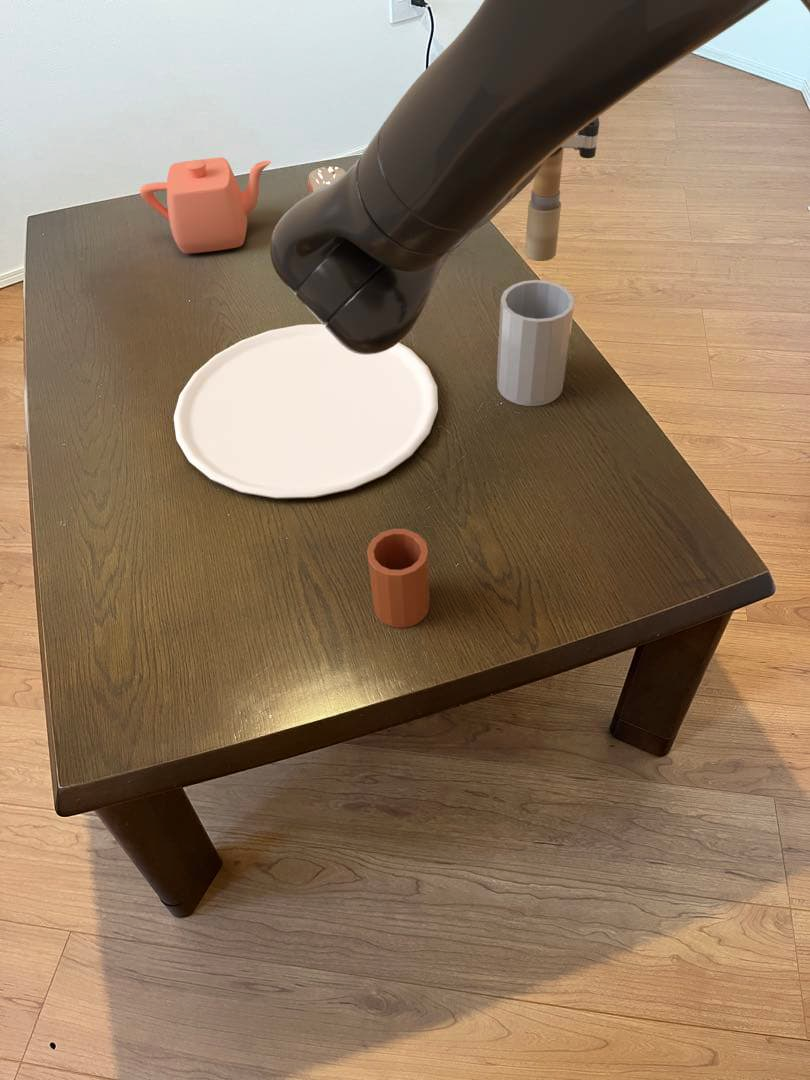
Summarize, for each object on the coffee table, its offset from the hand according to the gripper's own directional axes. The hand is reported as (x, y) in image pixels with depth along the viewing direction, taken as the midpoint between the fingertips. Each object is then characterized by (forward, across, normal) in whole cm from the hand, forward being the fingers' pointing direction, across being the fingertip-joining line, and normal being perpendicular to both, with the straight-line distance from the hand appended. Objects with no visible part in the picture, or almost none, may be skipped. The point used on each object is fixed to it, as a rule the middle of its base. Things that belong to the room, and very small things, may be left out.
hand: (568, 83), depth 71 cm
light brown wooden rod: (-3, 0, +14) cm, 15 cm away
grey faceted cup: (-3, 0, +31) cm, 31 cm away
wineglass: (+8, +34, +31) cm, 47 cm away
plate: (-18, +20, +31) cm, 41 cm away
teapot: (+6, +53, +31) cm, 62 cm away
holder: (-36, -4, +31) cm, 48 cm away
